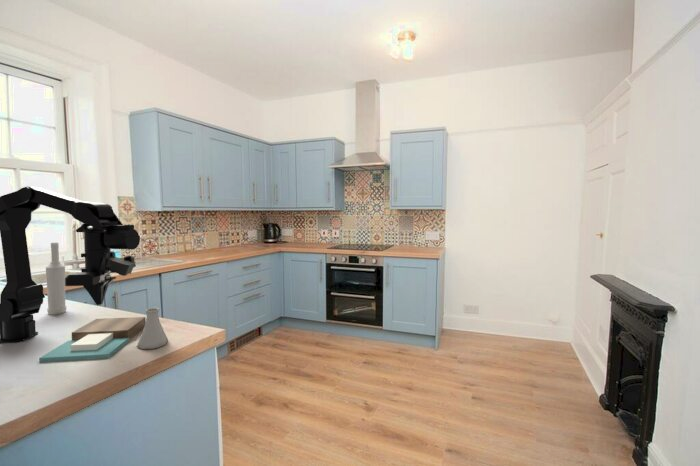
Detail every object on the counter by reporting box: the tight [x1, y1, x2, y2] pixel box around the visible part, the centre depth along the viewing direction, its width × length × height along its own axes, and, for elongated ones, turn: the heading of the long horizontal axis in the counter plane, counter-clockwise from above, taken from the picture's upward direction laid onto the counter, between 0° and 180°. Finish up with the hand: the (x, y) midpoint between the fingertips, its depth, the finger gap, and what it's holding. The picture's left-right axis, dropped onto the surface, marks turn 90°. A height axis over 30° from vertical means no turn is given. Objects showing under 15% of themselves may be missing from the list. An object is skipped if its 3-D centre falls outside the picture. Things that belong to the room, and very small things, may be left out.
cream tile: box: [70, 333, 113, 351], centre depth 89 cm, size 6×8×2 cm
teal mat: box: [38, 338, 130, 363], centre depth 87 cm, size 15×11×1 cm
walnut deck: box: [71, 316, 146, 340], centre depth 99 cm, size 14×12×3 cm
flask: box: [136, 307, 169, 350], centre depth 91 cm, size 7×7×10 cm
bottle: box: [45, 241, 67, 316], centre depth 117 cm, size 5×5×25 cm
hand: (99, 304), depth 92 cm, fingers closed
